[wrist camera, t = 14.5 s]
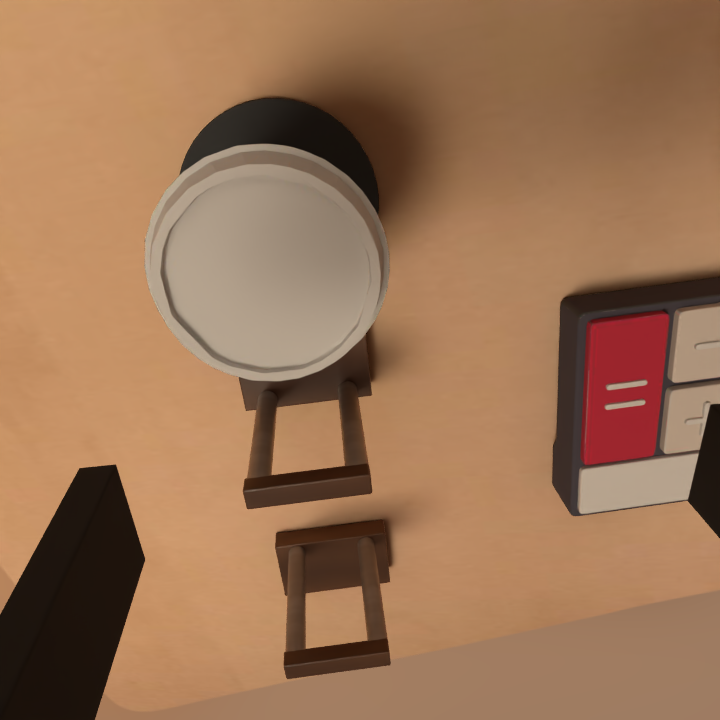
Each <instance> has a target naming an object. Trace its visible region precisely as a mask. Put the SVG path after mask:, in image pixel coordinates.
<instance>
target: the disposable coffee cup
mask: <svg viewBox="0 0 720 720" xmlns="http://www.w3.org/2000/svg"><path fill="white" fill-rule="evenodd" d="M145 271H146V276H147V281H148V286H149V290H150V292H151V295H152V297H153V300H154V302H155V304H156V307H157V309H158V311H159V313H160V314H161V316H162V317H163V319H164V321H165V323H166V325H167V327H168V328H169V329H170V330H171V332H172V333H173V334H174V335H175V337H176V338H177V339H178V340H179V342H180V343H181V344H182V345H183V346H184V347H185V348H187V349H188V350H189V351H190V352H191V353H192V354H194V355H195V356H196V357H197V358H198V359H200V360H201V361H203V362H205V363H206V364H208V365H210V366H211V367H213V368H215V369H218V370H220V371H222V372H225V373H227V374H229V375H233V376H237V377H241V378H245V379H248V380H255V381H283V380H290V379H297V378H301V377H304V376H306V375H309V374H312V373H315V372H318V371H320V370H322V369H324V368H326V367H327V366H329V365H331V364H333V363H334V362H336V361H337V360H339V359H340V358H341V357H342V356H344V355H345V354H346V353H347V352H348V351H349V350H350V349H351V348H352V347H353V346H354V345H355V344H356V343H358V342H359V341H360V340H361V339H362V338H363V337H364V335H365V334H366V332H367V331H368V329H369V328H370V327H371V325H372V324H373V322H374V321H375V319H376V317H377V315H378V313H379V311H380V309H381V307H382V304H383V301H384V298H385V294H386V291H387V288H388V280H389V250H388V245H387V240H386V236H385V232H384V229H383V226H382V224H381V222H380V219H379V217H378V215H377V213H376V211H375V209H374V207H373V206H372V204H371V203H370V201H369V200H368V198H367V197H366V195H365V194H364V193H363V191H362V190H361V189H360V188H359V187H358V186H357V185H356V184H355V183H354V182H353V181H352V180H351V179H350V178H349V177H348V176H347V175H346V174H345V173H343V172H342V171H341V170H339V169H338V168H336V167H335V166H334V165H332V164H331V163H329V162H328V161H327V160H325V159H322V158H320V157H318V156H315V155H313V154H311V153H308V152H306V151H303V150H300V149H297V148H294V147H289V146H284V145H275V144H251V145H239V146H234V147H231V148H229V149H226V150H223V151H220V152H218V153H215V154H212V155H209V156H207V157H204V158H203V159H201V160H200V161H198V162H197V163H195V164H194V165H192V166H191V167H190V168H188V169H187V170H185V171H184V172H182V174H181V175H180V176H179V177H178V178H177V179H176V180H175V181H174V182H173V183H172V184H171V185H170V186H169V187H168V188H167V189H166V190H165V192H164V194H163V196H162V198H161V199H160V201H159V203H158V205H157V206H156V208H155V210H154V212H153V213H152V217H151V220H150V224H149V227H148V231H147V234H146V238H145Z"/></svg>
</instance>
